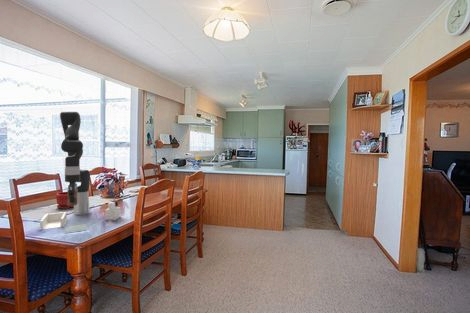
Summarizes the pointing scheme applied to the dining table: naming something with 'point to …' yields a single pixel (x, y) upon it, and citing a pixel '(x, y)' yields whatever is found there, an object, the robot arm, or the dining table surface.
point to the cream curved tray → (53, 220)
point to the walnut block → (74, 198)
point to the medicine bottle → (112, 211)
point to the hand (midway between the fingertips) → (72, 201)
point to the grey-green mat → (76, 228)
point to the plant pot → (62, 200)
